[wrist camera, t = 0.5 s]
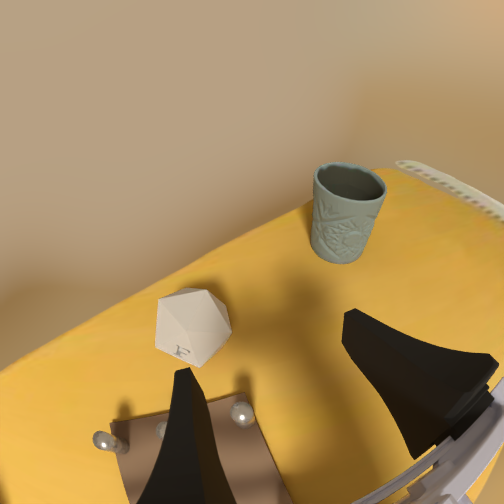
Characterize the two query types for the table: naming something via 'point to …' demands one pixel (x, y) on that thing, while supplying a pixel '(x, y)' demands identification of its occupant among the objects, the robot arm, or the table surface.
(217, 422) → the standoff plate
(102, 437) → the standoffs
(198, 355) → the die
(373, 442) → the table surface
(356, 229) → the embossed plant pot
